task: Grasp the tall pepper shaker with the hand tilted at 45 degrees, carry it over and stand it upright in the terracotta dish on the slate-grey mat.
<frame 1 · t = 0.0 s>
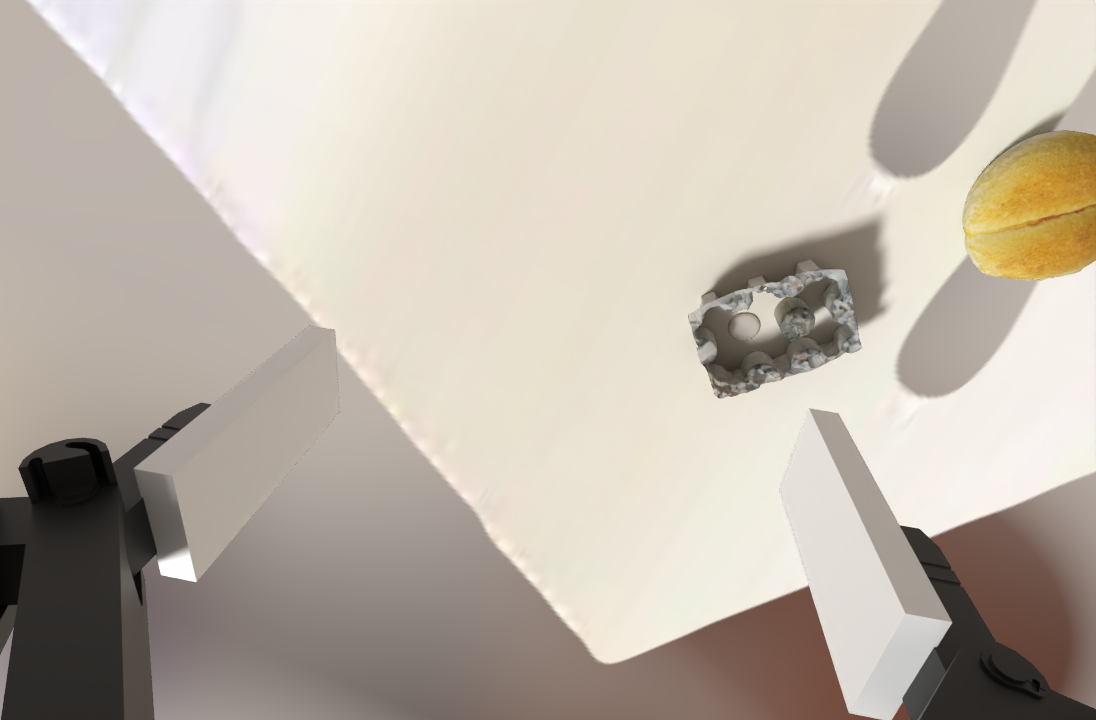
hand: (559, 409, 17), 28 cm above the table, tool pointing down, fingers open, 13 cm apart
bread roll: (1029, 206, 39), on the table
egg carton: (765, 314, 44), on the table
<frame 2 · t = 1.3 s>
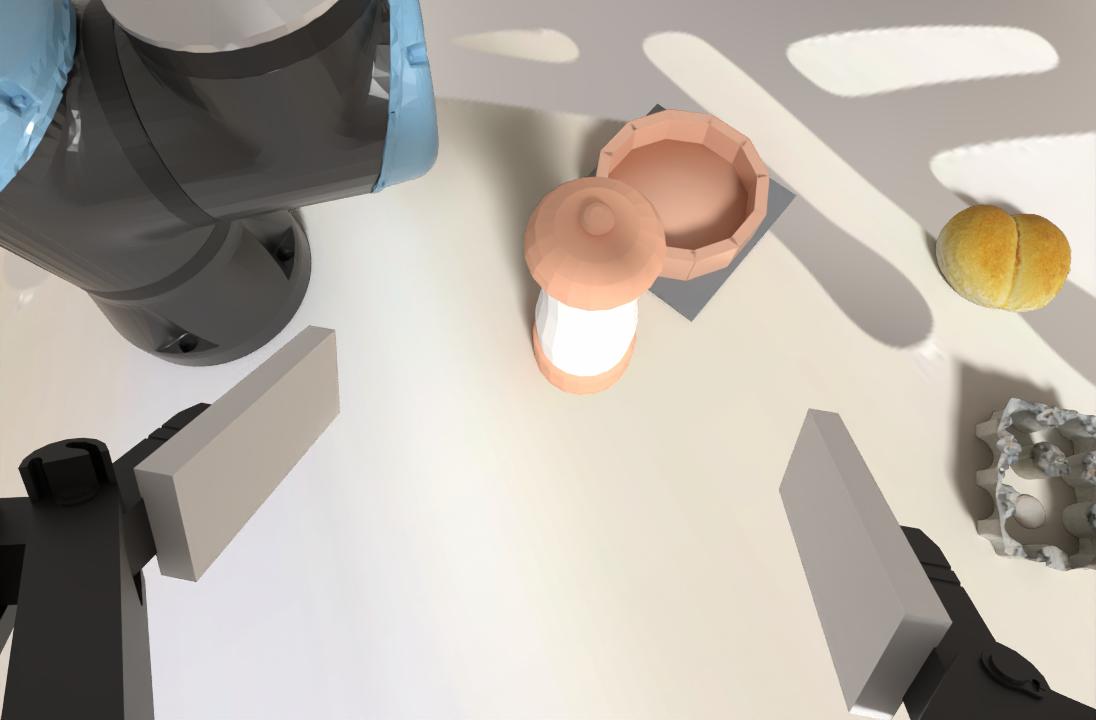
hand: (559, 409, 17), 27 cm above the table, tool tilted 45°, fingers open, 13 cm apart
pepper shaker: (582, 349, 46), on the table
mat: (673, 207, 49), on the table
bread roll: (989, 265, 47), on the table
egg carton: (1019, 487, 42), on the table
dish: (673, 205, 48), resting on mat
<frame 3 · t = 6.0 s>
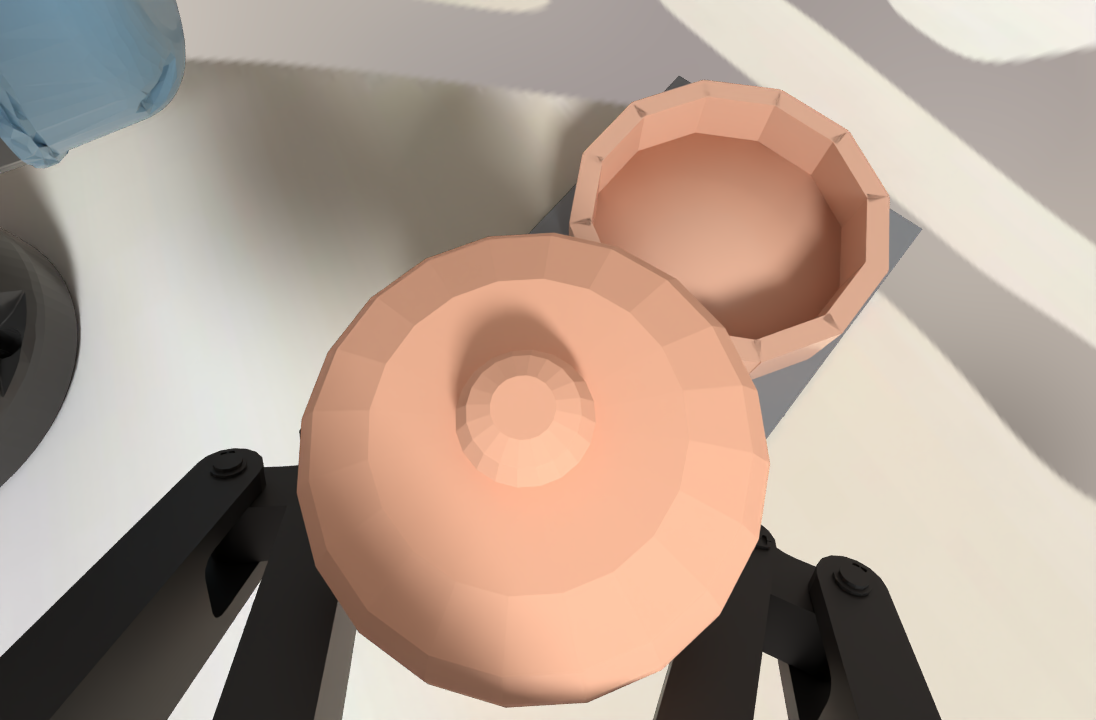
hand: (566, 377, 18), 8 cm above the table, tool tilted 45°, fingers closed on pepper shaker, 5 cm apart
pepper shaker: (550, 514, 25), on the table, touching gripper
mat: (709, 251, 28), on the table
dish: (711, 247, 28), resting on mat
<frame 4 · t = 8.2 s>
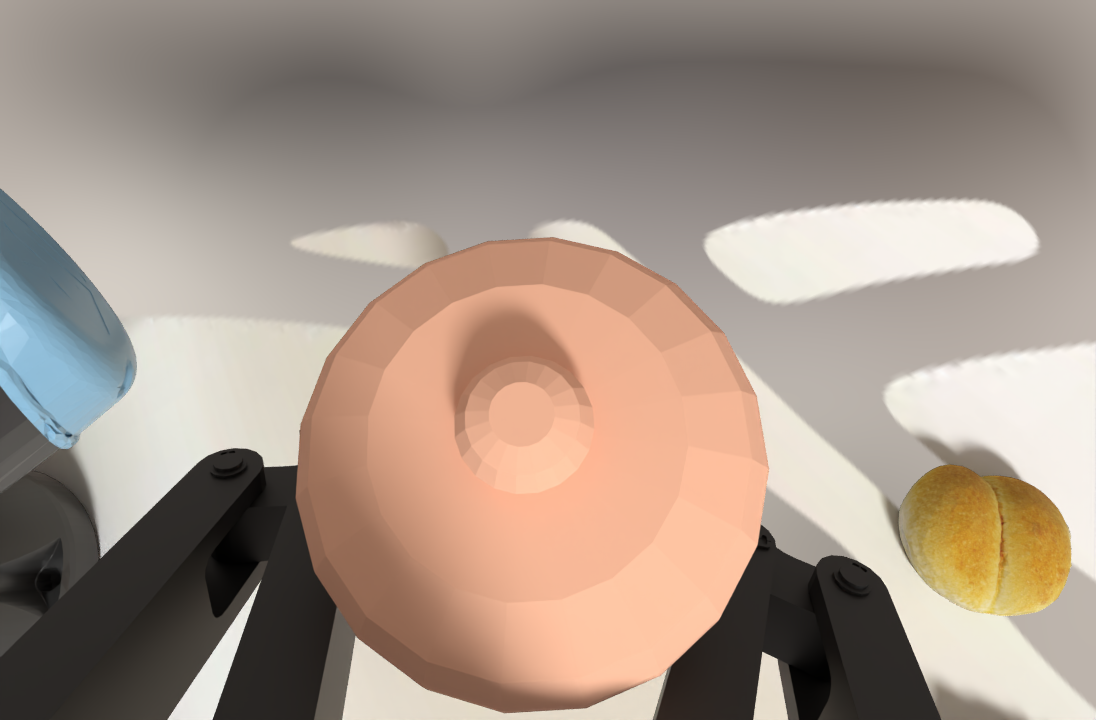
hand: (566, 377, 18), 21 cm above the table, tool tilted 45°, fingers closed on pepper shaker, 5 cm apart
pepper shaker: (549, 516, 25), point 13 cm above the table, touching gripper
bread roll: (968, 537, 37), on the table
when the fingers open (10 cm above the table, at t = 10.8 s): pepper shaker drops 1 cm, resting on dish.
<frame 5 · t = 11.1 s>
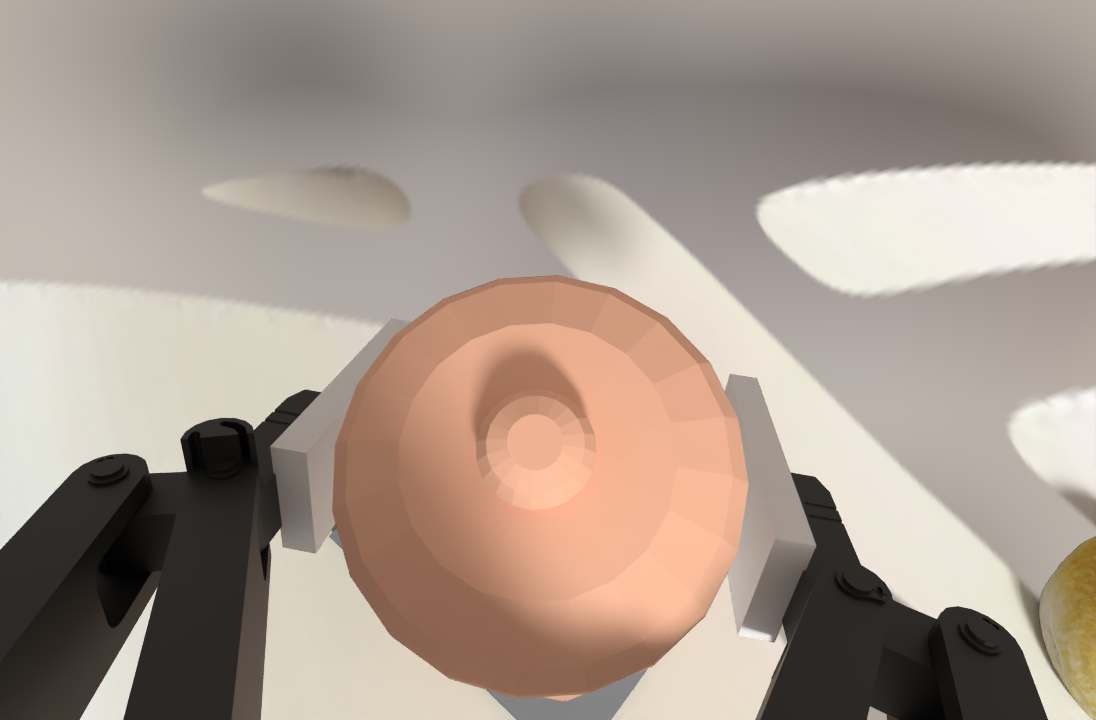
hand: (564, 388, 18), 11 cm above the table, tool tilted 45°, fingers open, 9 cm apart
pepper shaker: (548, 517, 26), point 1 cm above the table, touching dish
mat: (550, 517, 27), on the table
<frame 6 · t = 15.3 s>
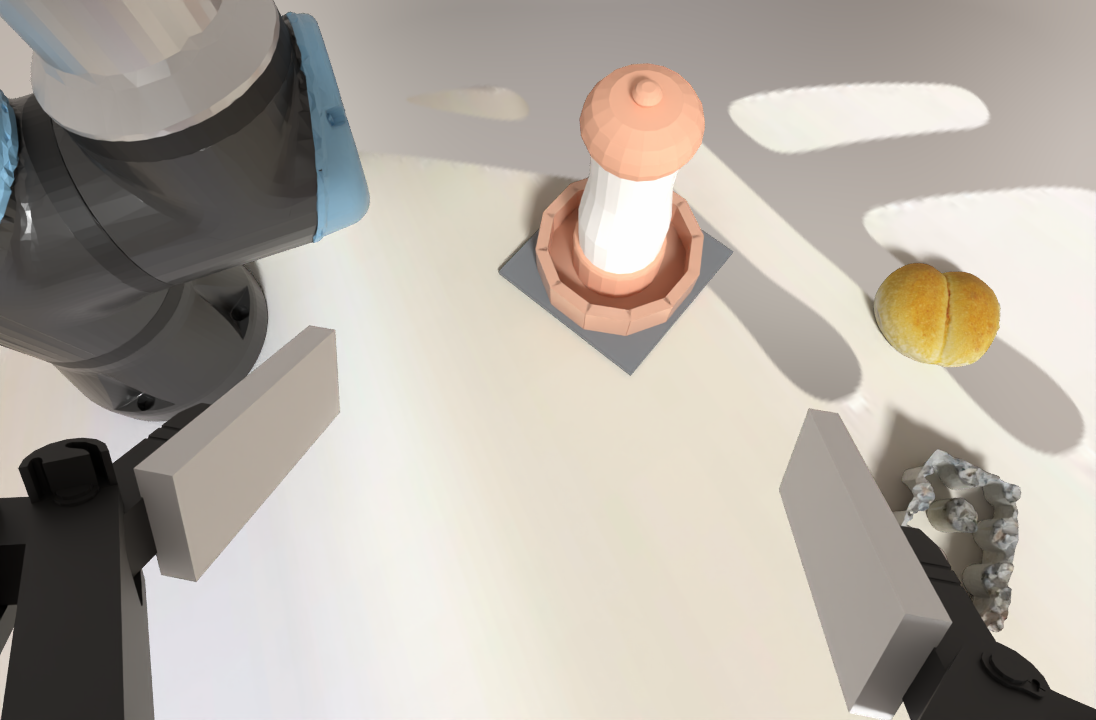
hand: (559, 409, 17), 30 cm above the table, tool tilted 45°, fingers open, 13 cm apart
pepper shaker: (615, 259, 50), point 1 cm above the table, touching dish
mat: (615, 263, 51), on the table
bread roll: (926, 320, 49), on the table
egg carton: (931, 537, 44), on the table
dish: (616, 261, 50), resting on mat
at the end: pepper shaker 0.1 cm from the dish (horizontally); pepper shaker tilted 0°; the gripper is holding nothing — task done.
